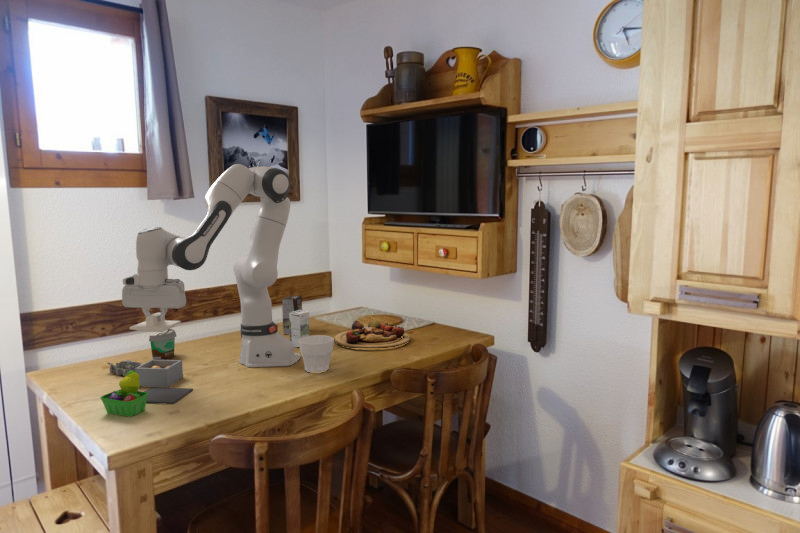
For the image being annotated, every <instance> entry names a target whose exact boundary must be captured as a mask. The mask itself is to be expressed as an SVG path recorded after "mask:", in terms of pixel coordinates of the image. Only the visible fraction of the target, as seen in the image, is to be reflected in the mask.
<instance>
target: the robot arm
mask: <svg viewBox="0 0 800 533" xmlns="http://www.w3.org/2000/svg"><path fill="white" fill-rule="evenodd" d="M290 185H291V181H290V177H289V174H288V173H287V172H285V171H284V170H283V169H280V168H278V167H272V166H265V165H264V166H262V165H261V166H255V165H254V166H249V167H247V166H246V165H244V164H240V163H235V164H232V165H231V166H230V167H228V168H227V169H226V170H224V171H223V172H222V173H221V174H220V176H218V178H216V180H215V181H214V182H213V183H212V184H211V186H210V187H209V189H208V190H207V192H206V193H205V194H204V204H205V207H206V209H207V214H206V216H205V217H203V218H204V219H203V220H202V222H201V223H200V224H199V226H198V227H197V228H196V229H195V231H194V233H193V234H191V235H189V236H187V237H184V236H181V235H176V234H173V233H171V232H169V231H167V230H165V229H164V228H163V227H161V226H160V227H159V226H157V227H156V226H155V227H149V228H144V229H141V230H140V231H139V232H138V233H137V235H136V240H135V241H136V242H135V244H136V245H135V247H136V248H135V250H136V251H135V252H136V253H135V254H136V255H135V256H136V259H137V273H136V274H133V275H132V276H131V275H129V276H128V277H127V276H126V277H124V278H123V279H122V285H123V287H122V289H121V303H122V305H123V306H124V308H141V310H142V312H143V314H144V316H145V318H146V317H147V316H149V315H152V314H151V312H150V311H149V310H151V309H159V311H160V313H161V314H160V316H157V319H158V322H163V321H164V320H166V314H167V312H168V310H169V309H182V308H184V307H185V306H186V305H187V297H186V292H185V283H184V281H182V280H180V279H179V278H175V279H173V278H169V277H168V276H169V274H168V267H169V266H171V265H172V266H175V267H179V268H180V269H183V270H186V271H194V270H198V269H200V268H201V267H202V266H203V265H204V264H205V263H206V261H207V259H208V256H209V252H210V249H211V246H212V244H213V243H214V241H215V240H216V238H217V237H218V236H219V234H220V232H222V230H223V228H224V227H225V226H226V224H227V222H228V221H229V219H230V218H231V216H232V215H233V213H234V212H235V211H236V209H237V208H238V207H239V205H241V203H242V202H244V200H245V198H246V197H247V196H248V195H250V196H255V197H259V198H260V207H259V209H258V212H257V214H256V219H255V220H254V224H253V227H252V230H251V231H250V232H251V234H250V237H249V239H250V240H249V241H250V246H249V253H248V255H247V254H246V255H243V256H241V257H239V258H238V259H236V261H235V263H234V265H233V273H234V276H235V281H236V286H237V291H238V295H239V296H238V297H239V300H240V301H239V302H240V315H241V316H240V317H241V323H240V338H241V349H240V355H239V359H238V362H239V363H240V364H241V365H244V366H245V367H248V368H258V367H259V368H260V367H261V368H263V367H265V368H266V367H267V368H268V367H269V368H270V367H289V366H292V365H295V364H296V363H298V362H299V361H300V360H301V358H300V357H301V353H299V352H295V348H294V347H293V344H292V342H291V341H290V338H289V339H288V338H287V337H285V335H284V334H281V333H280V332H279V331H278V330H279V329H278V327H279V323H275V322H274V321H273V307H272V299H271V297H270V294H269V289H268V288H269V287H271V286H273V285H274V284H275V283H276V281H277V280H278V276H279V273H278V260H279V259H278V258H279V250H280V246H281V243H282V239H283V237H284V233H285V229H286V228H287V223H288V220H289V215H290V210H291V200H290V198H289V194H290V187H291V186H290ZM164 315H165V316H164ZM299 359H300V360H299ZM298 360H299V361H298ZM297 361H298V362H297ZM295 362H296V363H295ZM294 363H295V364H294Z"/></svg>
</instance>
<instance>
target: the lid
mask: <svg viewBox="0 0 800 533" xmlns="http://www.w3.org/2000/svg"><path fill="white" fill-rule="evenodd" d="M160 314H161V312H156V313H152V314H151V315H149V316H147V317H146V316H145V321H142V322H139V323H137V324H134V325H131V326H129V330H131V331H132V330H134V331H135V332H149V333H151V332H152V333H153V332H155V333H164V332H166V331H168V329H174V328H175V327H176V326H177V325H180V324H181V323H182V321H181V320H167V319H165V320H164V321H163V322H158V319H157V316H160ZM164 316H165V317H166V314H165V315H164Z"/></svg>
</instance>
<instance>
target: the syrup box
mask: <svg viewBox="0 0 800 533" xmlns="http://www.w3.org/2000/svg"><path fill="white" fill-rule="evenodd" d="M289 320H290V335H289V340H290V341H291V342H292V344H293V347H299V342H298V340H299V339H300V338H302V337H306V336H310V312H309V311H308V310H304V309H302V310H297V311H294V312H290V313H289Z"/></svg>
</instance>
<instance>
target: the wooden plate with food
mask: <svg viewBox="0 0 800 533" xmlns="http://www.w3.org/2000/svg"><path fill="white" fill-rule="evenodd" d="M351 324H352V325H351V330H346V331H343V332H339V333H338V334H336V335H335V336H334V337H333V338H334V344H336V343H337V344H338V345H341V346H344V347H349V348H388V347H395V346H399V345H402V344H405V343H407V342H409V341H410V342H411V337H410V335H409V334H407V333H406V332H405V328H404V327H403V326H397V325H396V324H394V325H393V324H389V323H388V322H384V323H382V324H381V322H380V321H379V320H378V319H372V321H371V320H370V322H369V323H368V324H367V327H365V325H364V324H363V322H362V321H361V320H359V319H356V320H354V321H353V323H351ZM401 336H403V340H401V339H402V338H401ZM400 340H401V341H400ZM410 342H409V343H410ZM337 344H336V345H337ZM338 345H337V346H338Z"/></svg>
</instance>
